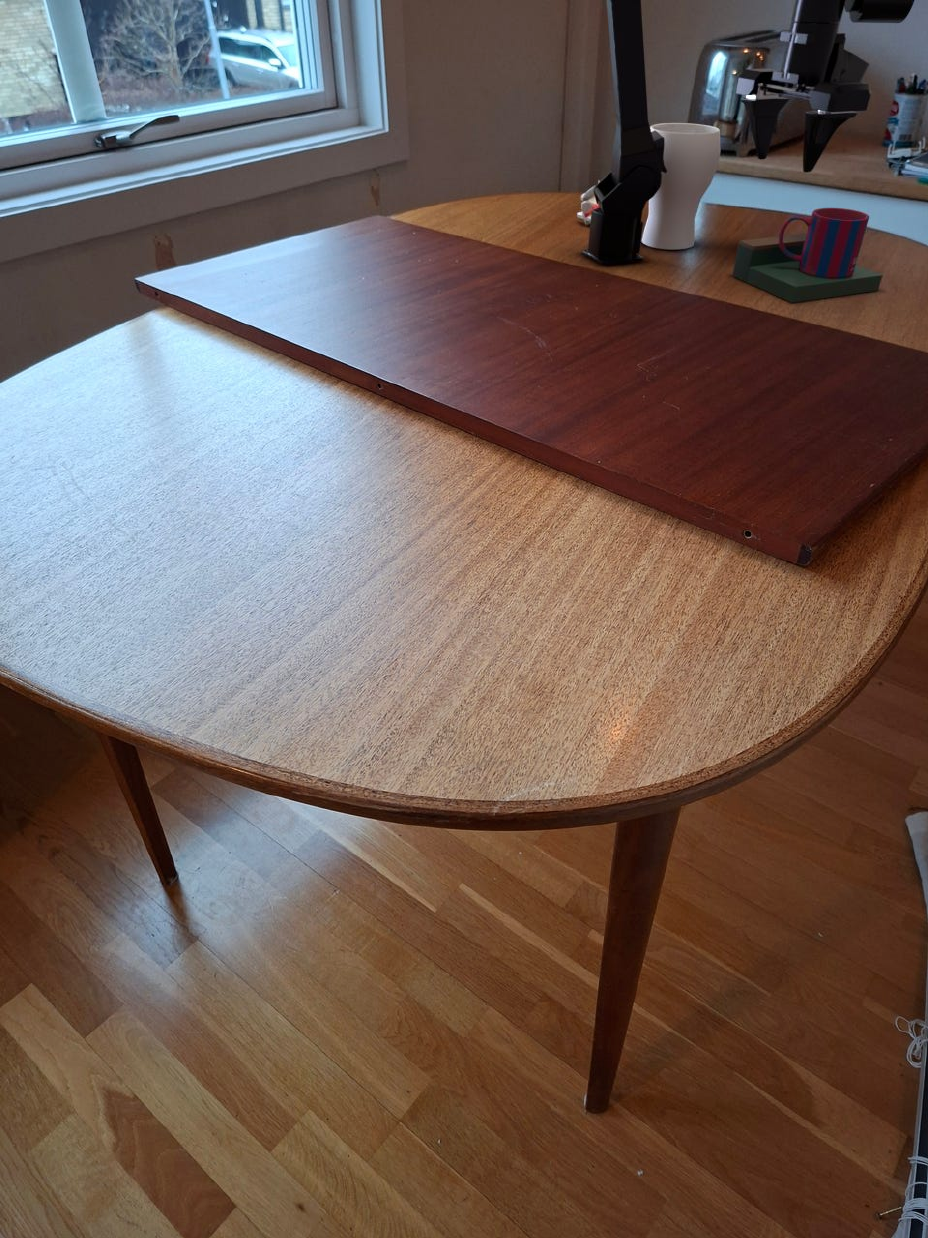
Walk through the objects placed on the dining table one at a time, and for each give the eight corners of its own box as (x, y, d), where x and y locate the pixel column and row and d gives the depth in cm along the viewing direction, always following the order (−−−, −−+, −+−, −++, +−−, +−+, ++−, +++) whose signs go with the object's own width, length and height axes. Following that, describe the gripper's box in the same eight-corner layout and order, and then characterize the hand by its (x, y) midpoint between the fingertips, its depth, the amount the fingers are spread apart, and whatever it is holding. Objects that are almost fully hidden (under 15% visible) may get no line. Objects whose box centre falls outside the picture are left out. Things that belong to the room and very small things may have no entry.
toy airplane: (635, 218, 138) (641, 174, 134) (626, 232, 131) (632, 186, 127) (580, 213, 140) (584, 170, 136) (568, 226, 133) (572, 181, 129)
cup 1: (617, 241, 126) (630, 126, 117) (660, 230, 132) (676, 119, 123) (675, 257, 120) (694, 137, 111) (718, 244, 126) (739, 129, 117)
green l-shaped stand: (791, 303, 105) (800, 265, 102) (732, 275, 114) (739, 240, 111) (878, 290, 109) (889, 254, 107) (814, 265, 118) (823, 230, 115)
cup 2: (853, 280, 106) (870, 222, 102) (770, 272, 108) (783, 215, 104) (852, 266, 111) (868, 210, 107) (773, 258, 113) (786, 203, 109)
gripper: (924, 26, 99) (882, 174, 108) (815, 16, 112) (786, 149, 122) (850, 27, 95) (813, 180, 105) (746, 17, 109) (722, 154, 118)
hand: (783, 165), depth 113 cm, fingers open, 9 cm apart
